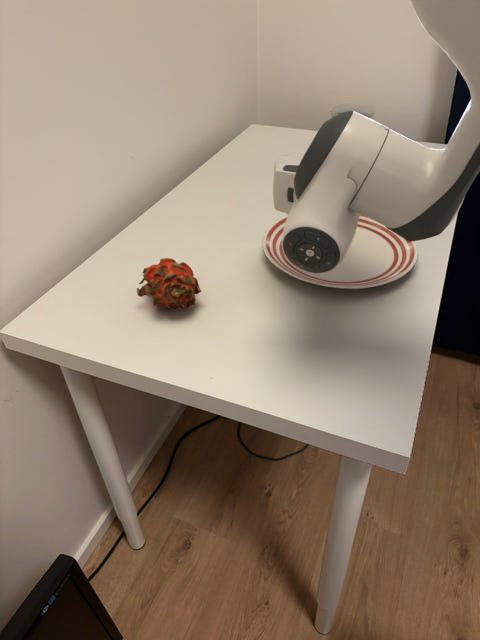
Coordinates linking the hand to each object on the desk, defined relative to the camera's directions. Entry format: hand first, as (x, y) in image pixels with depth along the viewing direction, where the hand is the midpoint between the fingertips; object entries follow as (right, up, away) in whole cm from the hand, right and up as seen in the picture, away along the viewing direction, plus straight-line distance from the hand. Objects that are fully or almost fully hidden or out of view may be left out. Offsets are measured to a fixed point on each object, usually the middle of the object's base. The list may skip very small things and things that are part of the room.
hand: (347, 159), depth 78 cm
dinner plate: (+1, -14, +11) cm, 18 cm away
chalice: (0, -8, +6) cm, 10 cm away
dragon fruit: (-29, -23, +2) cm, 37 cm away
